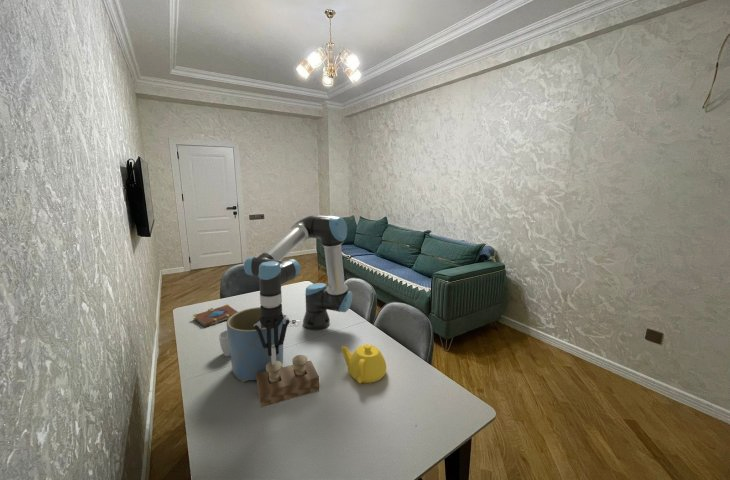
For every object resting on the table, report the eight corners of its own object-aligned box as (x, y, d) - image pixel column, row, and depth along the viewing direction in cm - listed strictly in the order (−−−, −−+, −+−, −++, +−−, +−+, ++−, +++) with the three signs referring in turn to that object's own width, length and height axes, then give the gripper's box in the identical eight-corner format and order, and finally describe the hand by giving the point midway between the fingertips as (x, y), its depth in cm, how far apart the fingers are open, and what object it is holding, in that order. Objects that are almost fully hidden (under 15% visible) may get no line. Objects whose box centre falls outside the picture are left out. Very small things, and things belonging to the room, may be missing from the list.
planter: (232, 391, 118) (228, 336, 114) (228, 360, 138) (224, 312, 133) (290, 375, 129) (289, 324, 124) (279, 348, 148) (277, 303, 144)
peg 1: (280, 375, 121) (280, 359, 120) (283, 384, 116) (283, 367, 115) (265, 379, 119) (264, 362, 117) (267, 388, 114) (267, 371, 112)
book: (246, 315, 186) (246, 308, 185) (204, 330, 167) (204, 322, 166) (233, 306, 196) (232, 299, 195) (192, 319, 177) (191, 312, 176)
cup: (232, 359, 139) (230, 339, 137) (216, 356, 141) (214, 337, 139) (242, 349, 147) (241, 330, 145) (227, 347, 148) (226, 328, 146)
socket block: (311, 373, 130) (310, 360, 129) (319, 390, 120) (319, 377, 119) (257, 386, 121) (256, 373, 120) (260, 407, 110) (260, 392, 109)
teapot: (390, 366, 136) (391, 340, 134) (378, 393, 119) (379, 364, 116) (348, 357, 143) (349, 332, 140) (331, 381, 125) (331, 353, 123)
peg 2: (305, 369, 125) (305, 353, 124) (309, 377, 120) (309, 361, 119) (291, 373, 123) (291, 356, 122) (294, 381, 118) (294, 364, 116)
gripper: (287, 297, 117) (288, 353, 122) (251, 303, 112) (254, 360, 116) (291, 305, 110) (293, 363, 115) (253, 311, 105) (256, 372, 110)
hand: (273, 362), depth 116 cm, fingers closed
